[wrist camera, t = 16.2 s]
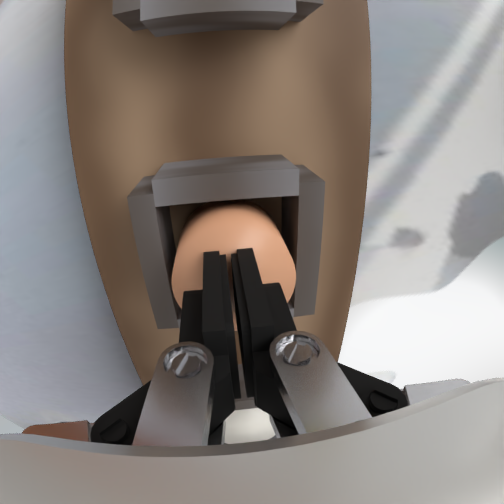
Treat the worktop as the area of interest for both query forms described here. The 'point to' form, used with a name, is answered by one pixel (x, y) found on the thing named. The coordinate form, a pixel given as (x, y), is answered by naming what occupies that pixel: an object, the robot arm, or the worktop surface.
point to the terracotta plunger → (231, 246)
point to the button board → (219, 145)
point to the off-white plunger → (248, 426)
